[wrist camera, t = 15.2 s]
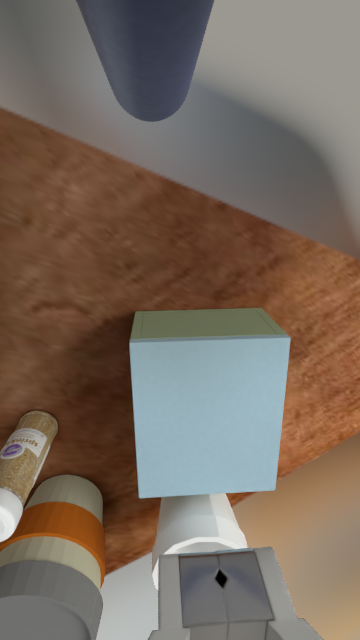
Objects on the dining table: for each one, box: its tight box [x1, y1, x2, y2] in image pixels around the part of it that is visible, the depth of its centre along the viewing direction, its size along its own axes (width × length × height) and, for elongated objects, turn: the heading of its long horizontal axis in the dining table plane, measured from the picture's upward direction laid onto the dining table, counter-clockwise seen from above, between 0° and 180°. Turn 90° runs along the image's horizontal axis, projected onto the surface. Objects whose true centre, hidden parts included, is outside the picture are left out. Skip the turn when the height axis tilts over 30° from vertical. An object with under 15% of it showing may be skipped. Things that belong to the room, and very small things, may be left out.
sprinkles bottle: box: [0, 410, 58, 542], centre depth 34 cm, size 5×5×14 cm
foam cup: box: [152, 493, 248, 591], centre depth 38 cm, size 10×9×13 cm
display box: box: [130, 308, 286, 340], centre depth 36 cm, size 16×14×8 cm
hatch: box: [129, 334, 290, 498], centre depth 32 cm, size 17×14×1 cm
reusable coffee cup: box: [0, 475, 105, 640], centre depth 38 cm, size 13×13×15 cm
